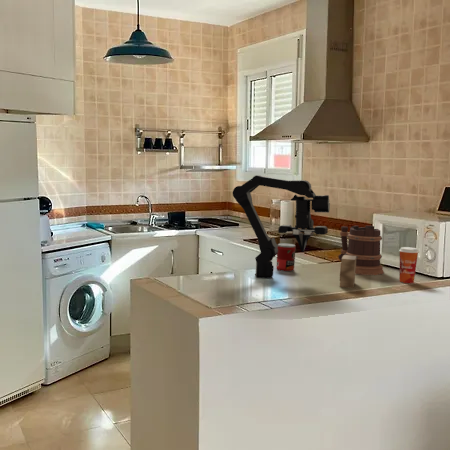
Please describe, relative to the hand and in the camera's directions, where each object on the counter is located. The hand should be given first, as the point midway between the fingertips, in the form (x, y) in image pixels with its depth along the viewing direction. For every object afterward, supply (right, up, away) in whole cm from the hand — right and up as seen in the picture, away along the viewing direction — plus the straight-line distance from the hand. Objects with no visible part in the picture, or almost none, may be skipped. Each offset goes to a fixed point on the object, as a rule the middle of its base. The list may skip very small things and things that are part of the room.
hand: (302, 251), depth 233 cm
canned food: (-5, -9, +24) cm, 26 cm away
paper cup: (+44, -13, +8) cm, 46 cm away
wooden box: (+17, -13, -4) cm, 22 cm away
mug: (+29, -10, +31) cm, 43 cm away
